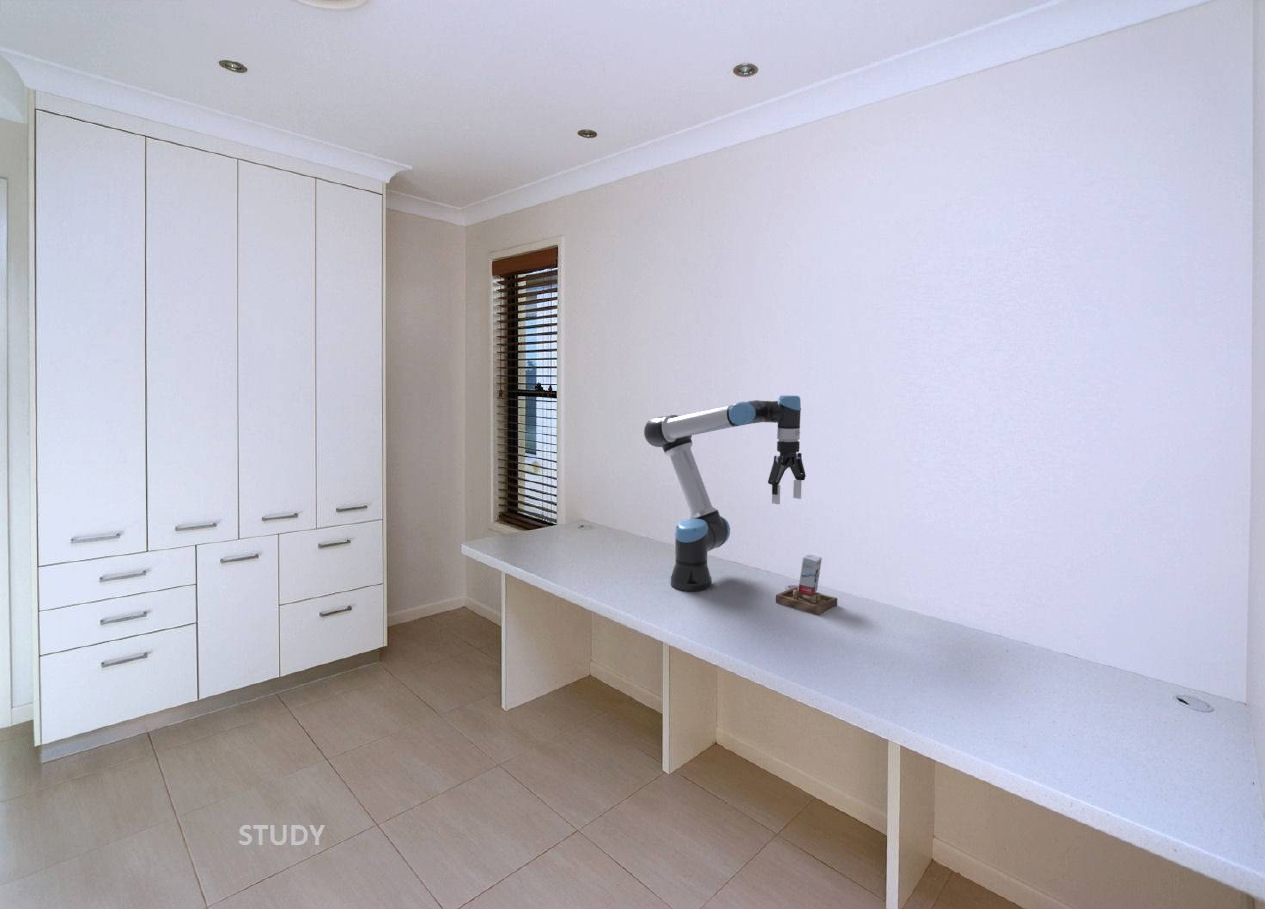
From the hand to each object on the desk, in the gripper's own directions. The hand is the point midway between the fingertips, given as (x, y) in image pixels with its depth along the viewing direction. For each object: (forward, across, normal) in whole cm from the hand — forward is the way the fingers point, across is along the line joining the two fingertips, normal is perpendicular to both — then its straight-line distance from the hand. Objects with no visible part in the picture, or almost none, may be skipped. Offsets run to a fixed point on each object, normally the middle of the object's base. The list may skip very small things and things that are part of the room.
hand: (786, 501), depth 216 cm
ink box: (+29, -5, -12) cm, 32 cm away
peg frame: (+33, -6, -12) cm, 35 cm away
